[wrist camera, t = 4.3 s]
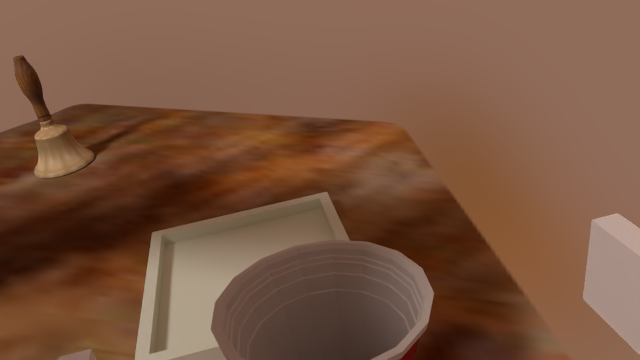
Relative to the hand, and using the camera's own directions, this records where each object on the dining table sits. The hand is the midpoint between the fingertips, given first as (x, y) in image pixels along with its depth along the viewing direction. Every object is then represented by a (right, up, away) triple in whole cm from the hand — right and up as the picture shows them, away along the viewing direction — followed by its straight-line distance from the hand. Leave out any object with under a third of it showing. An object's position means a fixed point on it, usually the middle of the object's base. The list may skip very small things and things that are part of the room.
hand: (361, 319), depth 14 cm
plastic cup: (+1, -12, +18) cm, 22 cm away
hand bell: (-38, +6, +62) cm, 73 cm away
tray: (-7, -5, +33) cm, 34 cm away
